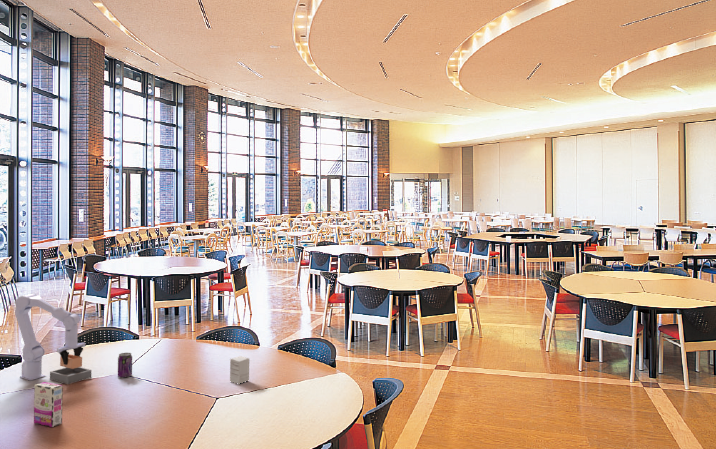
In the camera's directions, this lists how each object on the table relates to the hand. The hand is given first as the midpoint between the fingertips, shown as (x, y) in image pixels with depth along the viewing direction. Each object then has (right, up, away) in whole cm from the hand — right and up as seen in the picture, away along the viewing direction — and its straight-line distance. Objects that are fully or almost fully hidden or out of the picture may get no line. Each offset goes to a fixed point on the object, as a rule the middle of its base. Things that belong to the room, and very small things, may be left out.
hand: (71, 362), depth 270 cm
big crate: (0, -8, 0) cm, 8 cm away
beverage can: (+26, -9, +6) cm, 28 cm away
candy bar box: (+22, -11, -55) cm, 60 cm away
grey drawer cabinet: (+89, -11, +3) cm, 89 cm away
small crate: (0, -2, 0) cm, 2 cm away
